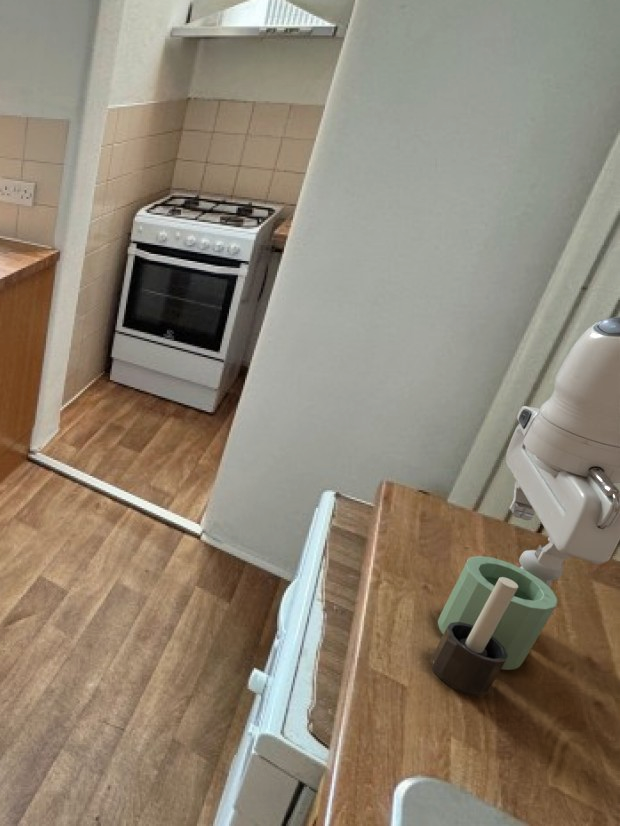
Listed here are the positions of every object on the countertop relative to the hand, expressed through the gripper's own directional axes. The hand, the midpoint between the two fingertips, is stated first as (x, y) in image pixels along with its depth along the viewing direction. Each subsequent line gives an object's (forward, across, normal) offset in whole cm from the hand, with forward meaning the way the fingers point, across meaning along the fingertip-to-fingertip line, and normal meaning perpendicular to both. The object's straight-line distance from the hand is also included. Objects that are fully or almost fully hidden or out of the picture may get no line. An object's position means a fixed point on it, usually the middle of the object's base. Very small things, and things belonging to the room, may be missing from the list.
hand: (531, 538), depth 75 cm
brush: (+24, 0, 0) cm, 24 cm away
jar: (+25, +9, -4) cm, 27 cm away
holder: (+25, 0, 0) cm, 25 cm away
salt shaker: (+25, +16, -9) cm, 31 cm away
